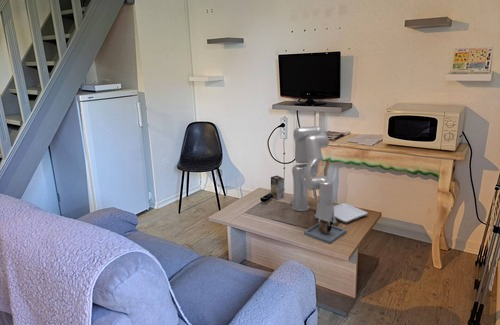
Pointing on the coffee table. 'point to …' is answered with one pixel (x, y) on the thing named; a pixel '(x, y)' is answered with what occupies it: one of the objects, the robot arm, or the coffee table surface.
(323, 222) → the walnut block
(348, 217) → the salad plate
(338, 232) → the slate dish
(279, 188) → the coffee box
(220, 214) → the coffee table surface
